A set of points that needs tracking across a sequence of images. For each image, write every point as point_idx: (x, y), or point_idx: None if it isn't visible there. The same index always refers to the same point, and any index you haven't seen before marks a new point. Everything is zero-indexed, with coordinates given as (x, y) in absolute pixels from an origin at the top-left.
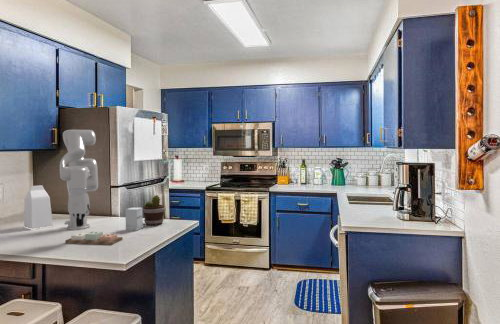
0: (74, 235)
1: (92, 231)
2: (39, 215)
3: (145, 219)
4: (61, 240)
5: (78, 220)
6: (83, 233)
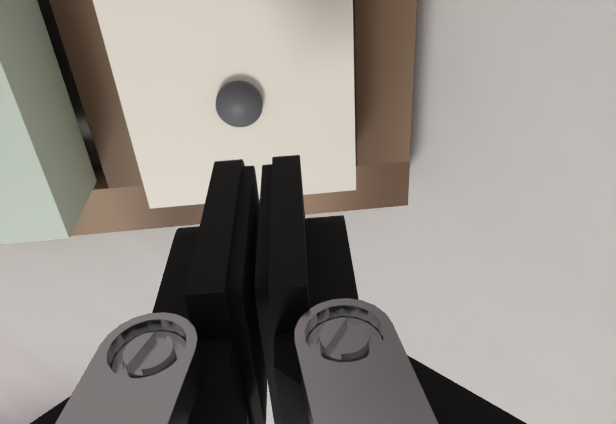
0: (303, 13)
1: (64, 236)
2: None
3: None
4: (596, 28)
5: (217, 262)
6: None
